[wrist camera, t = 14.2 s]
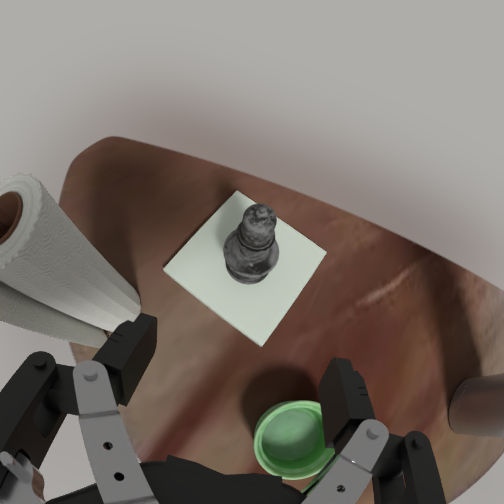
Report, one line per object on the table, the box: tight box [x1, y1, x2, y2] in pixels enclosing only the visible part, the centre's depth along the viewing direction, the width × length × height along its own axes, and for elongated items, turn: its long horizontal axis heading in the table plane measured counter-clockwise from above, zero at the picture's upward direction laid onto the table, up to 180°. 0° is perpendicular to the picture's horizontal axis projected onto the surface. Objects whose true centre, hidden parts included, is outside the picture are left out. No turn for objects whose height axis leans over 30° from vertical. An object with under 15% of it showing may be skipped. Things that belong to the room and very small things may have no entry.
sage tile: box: [163, 191, 327, 347], centre depth 33 cm, size 14×14×1 cm
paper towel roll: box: [0, 173, 141, 348], centre depth 19 cm, size 7×6×21 cm
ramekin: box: [254, 400, 335, 480], centre depth 24 cm, size 9×9×4 cm
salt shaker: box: [223, 204, 279, 285], centre depth 27 cm, size 6×6×12 cm
